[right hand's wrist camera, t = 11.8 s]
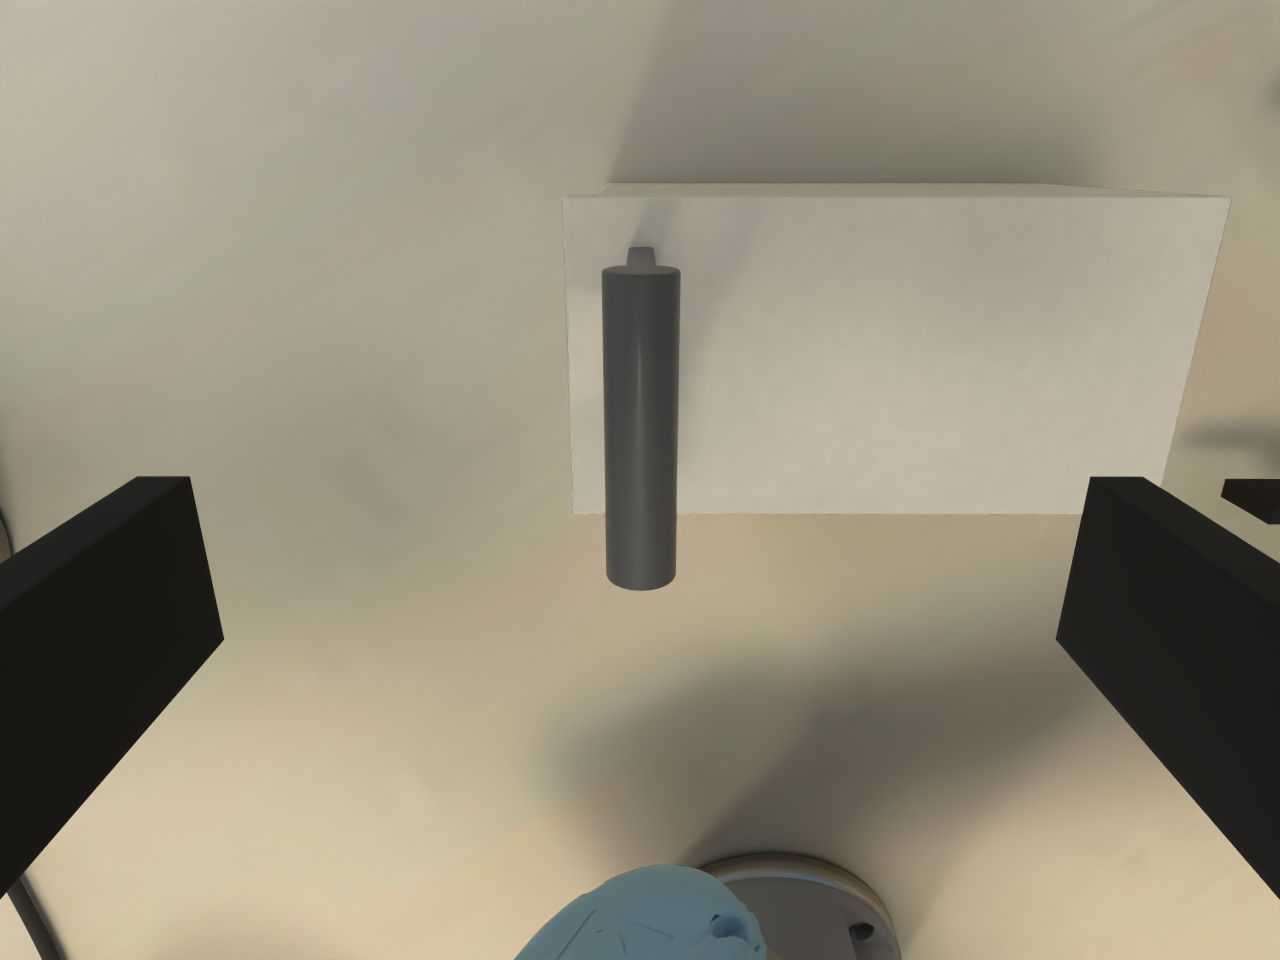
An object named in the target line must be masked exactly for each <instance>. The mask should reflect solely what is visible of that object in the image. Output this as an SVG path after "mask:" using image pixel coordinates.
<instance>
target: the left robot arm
mask: <svg viewBox="0 0 1280 960" xmlns="http://www.w3.org/2000/svg"><path fill="white" fill-rule="evenodd" d="M1221 497H1223V498H1224V499H1226V500H1228V501H1229V502H1231V503H1233V504H1235V505H1236V506H1238V507H1240V508H1241V509H1243V510H1245V511H1247V512H1248V513H1250V514H1252V515H1253V516H1255V517H1257V518H1259V519H1260V520H1262V521H1264V522H1265V523H1267V524H1280V479H1226V480H1225V483H1224V487H1223V490H1222V494H1221ZM514 960H901V955H900V949H899V946H898V943H897V940H896V937H895V934H894V931H893V928H892V925H891V922H890V919H889V916H888V914H887V912H886V910H885V908H884V906H883V905H882V903H881V902H880V900H879V899H878V898H877V897H876V895H875V894H874V893H873V892H872V891H871V890H870V889H869V888H868V887H867V886H866V885H865V884H864V883H862V882H861V881H860V880H858V879H857V878H856V877H854V876H852V875H851V874H849V873H847V872H846V871H844V870H842V869H840V868H838V867H835V866H833V865H830V864H828V863H825V862H822V861H819V860H815V859H812V858H807V857H802V856H797V855H788V854H753V855H745V856H739V857H734V858H729V859H725V860H722V861H718V862H715V863H712V864H710V865H707V866H704V867H702V868H700V869H695V868H692V867H687V866H680V865H655V866H648V867H643V868H639V869H635V870H632V871H629V872H626V873H623V874H620V875H618V876H615V877H613V878H611V879H609V880H607V881H606V882H605V883H604V884H602V885H601V886H599V887H598V888H597V889H595V890H594V891H591V892H589V893H587V894H582V895H581V896H579V897H578V898H576V899H575V900H574V901H572V902H571V903H570V904H568V905H567V906H566V907H564V908H563V909H562V910H561V911H560V912H559V913H557V914H556V915H555V916H554V917H553V918H552V919H551V920H549V921H548V922H547V923H546V924H545V925H544V926H543V927H542V928H541V929H540V930H539V931H538V932H537V933H536V934H535V935H534V936H533V938H532V939H531V940H530V941H529V942H528V943H527V944H526V946H525V947H524V948H523V949H522V950H521V952H520V953H519V954H518V955H517V957H516V958H515V959H514Z"/></svg>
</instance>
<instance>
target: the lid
mask: <svg viewBox="0 0 1280 960" xmlns="http://www.w3.org/2000/svg"><path fill="white" fill-rule="evenodd" d="M1231 201H1232V197H1230V196H1217V195H566V196H565V197H563V225H564V256H565V287H566V318H567V349H568V380H569V411H570V442H571V473H572V505H573V514H606V573H607V577H608V579H609V580H610V581H611V582H612V583H613V584H615V585H616V586H619V587H621V588H625V589H629V590H639V591H643V590H653V589H658V588H661V587H664V586H666V585H668V584H669V583H670V582H671V581H672V580H673V579H674V577H675V574H676V522H677V514H1055V515H1082V513H1083V508H1084V504H1085V499H1086V494H1087V489H1088V485H1089V480H1090V476H1143V477H1144V478H1146V479H1148V480H1149V481H1151V482H1152V483H1154V484H1155V485H1157V486H1159V487H1160V488H1161V485H1162V481H1163V477H1164V473H1165V469H1166V465H1167V461H1168V457H1169V453H1170V449H1171V445H1172V441H1173V436H1174V432H1175V428H1176V424H1177V420H1178V416H1179V412H1180V408H1181V404H1182V400H1183V396H1184V392H1185V388H1186V384H1187V380H1188V376H1189V371H1190V367H1191V363H1192V359H1193V355H1194V351H1195V347H1196V343H1197V339H1198V335H1199V331H1200V327H1201V323H1202V319H1203V315H1204V311H1205V306H1206V302H1207V298H1208V294H1209V290H1210V286H1211V282H1212V278H1213V274H1214V270H1215V266H1216V262H1217V258H1218V254H1219V250H1220V245H1221V241H1222V237H1223V233H1224V229H1225V225H1226V221H1227V217H1228V213H1229V209H1230V205H1231Z"/></svg>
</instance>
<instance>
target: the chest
mask: <svg viewBox="0 0 1280 960" xmlns="http://www.w3.org/2000/svg"><path fill="white" fill-rule="evenodd" d="M595 195H1199V194H1186V193H1171V192H1156V191H1141V190H1127V189H1112V188H1097V187H1082V186H1067V185H1052V184H1038V183H608V184H607V185H606V186H605V187H603V188H602V189H601V190H600V191H598V192H597V193H596V194H595Z"/></svg>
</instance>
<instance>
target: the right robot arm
mask: <svg viewBox="0 0 1280 960" xmlns="http://www.w3.org/2000/svg"><path fill="white" fill-rule="evenodd" d="M223 640H224V636H223V631H222V626H221V622H220V617H219V612H218V608H217V603H216V598H215V593H214V589H213V584H212V579H211V575H210V570H209V565H208V560H207V556H206V551H205V546H204V541H203V537H202V532H201V527H200V523H199V518H198V513H197V508H196V504H195V499H194V494H193V489H192V485H191V480H190V476H137V477H136V478H134V479H132V480H131V481H129V482H128V483H126V484H125V485H123V486H121V487H120V488H118V489H117V490H115V491H114V492H112V493H110V494H109V495H107V496H106V497H104V498H103V499H101V500H99V501H98V502H96V503H95V504H93V505H92V506H90V507H88V508H87V509H85V510H84V511H82V512H81V513H79V514H77V515H76V516H74V517H73V518H71V519H70V520H68V521H66V522H65V523H63V524H62V525H60V526H59V527H57V528H55V529H54V530H52V531H51V532H49V533H48V534H46V535H44V536H43V537H41V538H40V539H38V540H37V541H35V542H33V543H32V544H30V545H29V546H27V547H25V548H24V549H22V550H21V551H19V552H18V553H16V554H14V555H13V556H11V553H10V547H9V541H8V538H7V534H6V531H5V527H4V525H3V522H2V520H1V517H0V899H1V898H2V897H3V896H4V895H5V893H6V892H7V894H8V895H9V897H10V899H11V901H12V903H13V904H14V906H15V908H16V910H17V912H18V914H19V915H20V917H21V919H22V921H23V923H24V925H25V927H26V928H27V930H28V932H29V934H30V936H31V938H32V940H33V942H34V944H35V946H36V948H37V950H38V952H39V954H40V956H41V959H42V960H61V959H60V956H59V954H58V952H57V950H56V948H55V945H54V943H53V941H52V939H51V937H50V935H49V933H48V931H47V929H46V927H45V925H44V923H43V921H42V919H41V917H40V915H39V913H38V911H37V910H36V908H35V906H34V904H33V902H32V900H31V898H30V896H29V895H28V893H27V891H26V889H25V887H24V885H23V884H22V882H21V880H20V878H19V877H20V876H21V875H22V874H23V873H24V871H25V870H26V869H27V868H28V867H29V866H30V864H31V863H32V862H33V861H34V860H35V859H36V857H37V856H38V855H39V854H40V853H41V852H42V850H43V849H44V848H45V847H46V846H47V845H48V843H49V842H50V841H51V840H52V839H53V838H54V837H55V835H56V834H57V833H58V832H59V831H60V830H61V828H62V827H63V826H64V825H65V824H66V823H67V821H68V820H69V819H70V818H71V817H72V816H73V814H74V813H75V812H76V811H77V810H78V809H79V807H80V806H81V805H82V804H83V803H84V802H85V801H86V799H87V798H88V797H89V796H90V795H91V794H92V792H93V791H94V790H95V789H96V788H97V787H98V785H99V784H100V783H101V782H102V781H103V780H104V778H105V777H106V776H107V775H108V774H109V773H110V772H111V770H112V769H113V768H114V767H115V766H116V765H117V763H118V762H119V761H120V760H121V759H122V758H123V756H124V755H125V754H126V753H127V752H128V751H129V749H130V748H131V747H132V746H133V745H134V744H135V742H136V741H137V740H138V739H139V738H140V737H141V736H142V734H143V733H144V732H145V731H146V730H147V729H148V727H149V726H150V725H151V724H152V723H153V722H154V720H155V719H156V718H157V717H158V716H159V715H160V713H161V712H162V711H163V710H164V709H165V708H166V707H167V705H168V704H169V703H170V702H171V701H172V700H173V698H174V697H175V696H176V695H177V694H178V693H179V691H180V690H181V689H182V688H183V687H184V686H185V684H186V683H187V682H188V681H189V680H190V679H191V677H192V676H193V675H194V674H195V673H196V672H197V671H198V669H199V668H200V667H201V666H202V665H203V664H204V662H205V661H206V660H207V659H208V658H209V657H210V655H211V654H212V653H213V652H214V651H215V650H216V648H217V647H218V646H219V645H220V644H221V643H222V642H223ZM1056 640H1057V642H1058V643H1059V644H1060V645H1061V646H1062V647H1063V648H1064V650H1065V651H1066V652H1067V653H1068V654H1069V655H1070V657H1071V658H1072V659H1073V660H1074V661H1075V662H1076V664H1077V665H1078V666H1079V667H1080V668H1081V669H1082V671H1083V672H1084V673H1085V674H1086V675H1087V676H1088V677H1089V679H1090V680H1091V681H1092V682H1093V683H1094V684H1095V686H1096V687H1097V688H1098V689H1099V690H1100V691H1101V693H1102V694H1103V695H1104V696H1105V697H1106V698H1107V700H1108V701H1109V702H1110V703H1111V704H1112V705H1113V707H1114V708H1115V709H1116V710H1117V711H1118V712H1119V713H1120V715H1121V716H1122V717H1123V718H1124V719H1125V720H1126V722H1127V723H1128V724H1129V725H1130V726H1131V727H1132V729H1133V730H1134V731H1135V732H1136V733H1137V734H1138V736H1139V737H1140V738H1141V739H1142V740H1143V741H1144V742H1145V744H1146V745H1147V746H1148V747H1149V748H1150V749H1151V751H1152V752H1153V753H1154V754H1155V755H1156V756H1157V758H1158V759H1159V760H1160V761H1161V762H1162V763H1163V765H1164V766H1165V767H1166V768H1167V769H1168V770H1169V772H1170V773H1171V774H1172V775H1173V776H1174V777H1175V778H1176V780H1177V781H1178V782H1179V783H1180V784H1181V785H1182V787H1183V788H1184V789H1185V790H1186V791H1187V792H1188V794H1189V795H1190V796H1191V797H1192V798H1193V799H1194V801H1195V802H1196V803H1197V804H1198V805H1199V806H1200V808H1201V809H1202V810H1203V811H1204V812H1205V813H1206V814H1207V816H1208V817H1209V818H1210V819H1211V820H1212V821H1213V823H1214V824H1215V825H1216V826H1217V827H1218V828H1219V830H1220V831H1221V832H1222V833H1223V834H1224V835H1225V837H1226V838H1227V839H1228V840H1229V841H1230V842H1231V843H1232V845H1233V846H1234V847H1235V848H1236V849H1237V850H1238V852H1239V853H1240V854H1241V855H1242V856H1243V857H1244V859H1245V860H1246V861H1247V862H1248V863H1249V864H1250V866H1251V867H1252V868H1253V869H1254V870H1255V871H1256V873H1257V874H1258V875H1259V876H1260V877H1261V878H1262V879H1263V881H1264V882H1265V883H1266V884H1267V885H1268V886H1269V888H1270V889H1271V890H1272V891H1273V892H1274V893H1275V895H1276V896H1277V897H1278V898H1279V899H1280V563H1278V562H1277V561H1275V560H1273V559H1272V558H1270V557H1269V556H1267V555H1266V554H1264V553H1262V552H1261V551H1259V550H1258V549H1256V548H1255V547H1253V546H1251V545H1250V544H1248V543H1247V542H1245V541H1243V540H1242V539H1240V538H1239V537H1237V536H1236V535H1234V534H1232V533H1231V532H1229V531H1228V530H1226V529H1225V528H1223V527H1221V526H1220V525H1218V524H1217V523H1215V522H1214V521H1212V520H1210V519H1209V518H1207V517H1206V516H1204V515H1203V514H1201V513H1199V512H1198V511H1196V510H1195V509H1193V508H1192V507H1190V506H1188V505H1187V504H1185V503H1184V502H1182V501H1181V500H1179V499H1177V498H1176V497H1174V496H1173V495H1171V494H1170V493H1168V492H1166V491H1165V490H1163V489H1162V488H1160V487H1159V486H1157V485H1155V484H1154V483H1152V482H1151V481H1149V480H1148V479H1146V478H1144V477H1143V476H1090V480H1089V485H1088V489H1087V494H1086V499H1085V504H1084V508H1083V513H1082V518H1081V523H1080V527H1079V532H1078V537H1077V541H1076V546H1075V551H1074V556H1073V560H1072V565H1071V570H1070V574H1069V579H1068V584H1067V589H1066V593H1065V598H1064V603H1063V608H1062V612H1061V617H1060V622H1059V626H1058V631H1057V636H1056Z"/></svg>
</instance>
